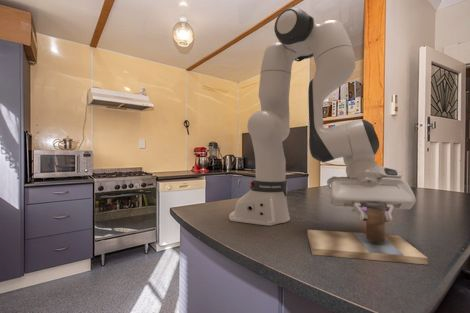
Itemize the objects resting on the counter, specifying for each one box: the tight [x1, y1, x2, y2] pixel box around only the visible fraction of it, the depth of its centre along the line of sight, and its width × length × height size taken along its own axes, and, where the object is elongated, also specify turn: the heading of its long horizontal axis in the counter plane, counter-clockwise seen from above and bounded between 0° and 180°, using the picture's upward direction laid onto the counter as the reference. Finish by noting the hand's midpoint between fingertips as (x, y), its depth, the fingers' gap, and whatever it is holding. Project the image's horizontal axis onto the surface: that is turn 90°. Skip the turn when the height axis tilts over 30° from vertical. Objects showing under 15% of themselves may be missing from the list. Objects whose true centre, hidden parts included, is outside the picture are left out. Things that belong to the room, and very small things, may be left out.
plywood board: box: [307, 229, 429, 265], centre depth 61 cm, size 24×14×2 cm, turn 77°
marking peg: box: [365, 202, 386, 242], centre depth 60 cm, size 4×4×9 cm
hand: (376, 220), depth 59 cm, fingers closed on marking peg, 4 cm apart
